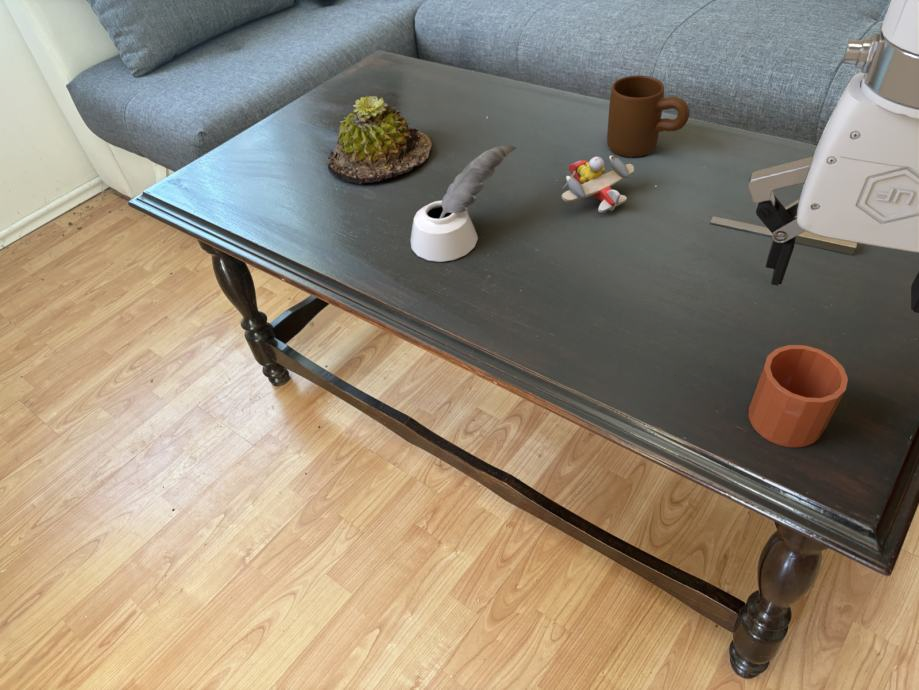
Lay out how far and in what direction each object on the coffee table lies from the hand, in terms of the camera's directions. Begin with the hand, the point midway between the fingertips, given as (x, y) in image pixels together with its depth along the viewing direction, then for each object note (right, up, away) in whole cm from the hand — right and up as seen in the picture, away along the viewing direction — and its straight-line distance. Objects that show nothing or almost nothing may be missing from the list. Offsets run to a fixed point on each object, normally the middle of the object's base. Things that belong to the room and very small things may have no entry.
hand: (844, 287), depth 51 cm
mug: (-2, +25, +49) cm, 55 cm away
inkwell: (-28, +12, +40) cm, 50 cm away
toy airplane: (-11, +16, +41) cm, 45 cm away
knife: (+11, +9, +32) cm, 35 cm away
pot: (+2, -12, +14) cm, 18 cm away
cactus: (-42, +26, +55) cm, 74 cm away
